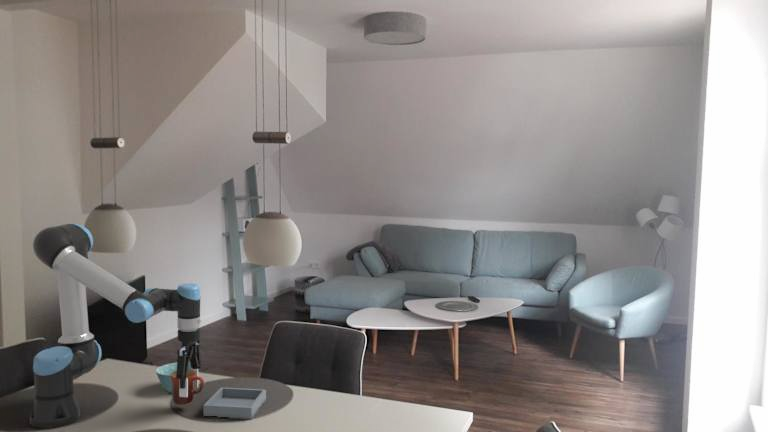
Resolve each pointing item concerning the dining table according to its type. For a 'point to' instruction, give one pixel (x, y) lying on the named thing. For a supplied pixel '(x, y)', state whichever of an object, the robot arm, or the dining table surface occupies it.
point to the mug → (191, 392)
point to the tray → (235, 403)
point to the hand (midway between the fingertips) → (189, 391)
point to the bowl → (167, 375)
